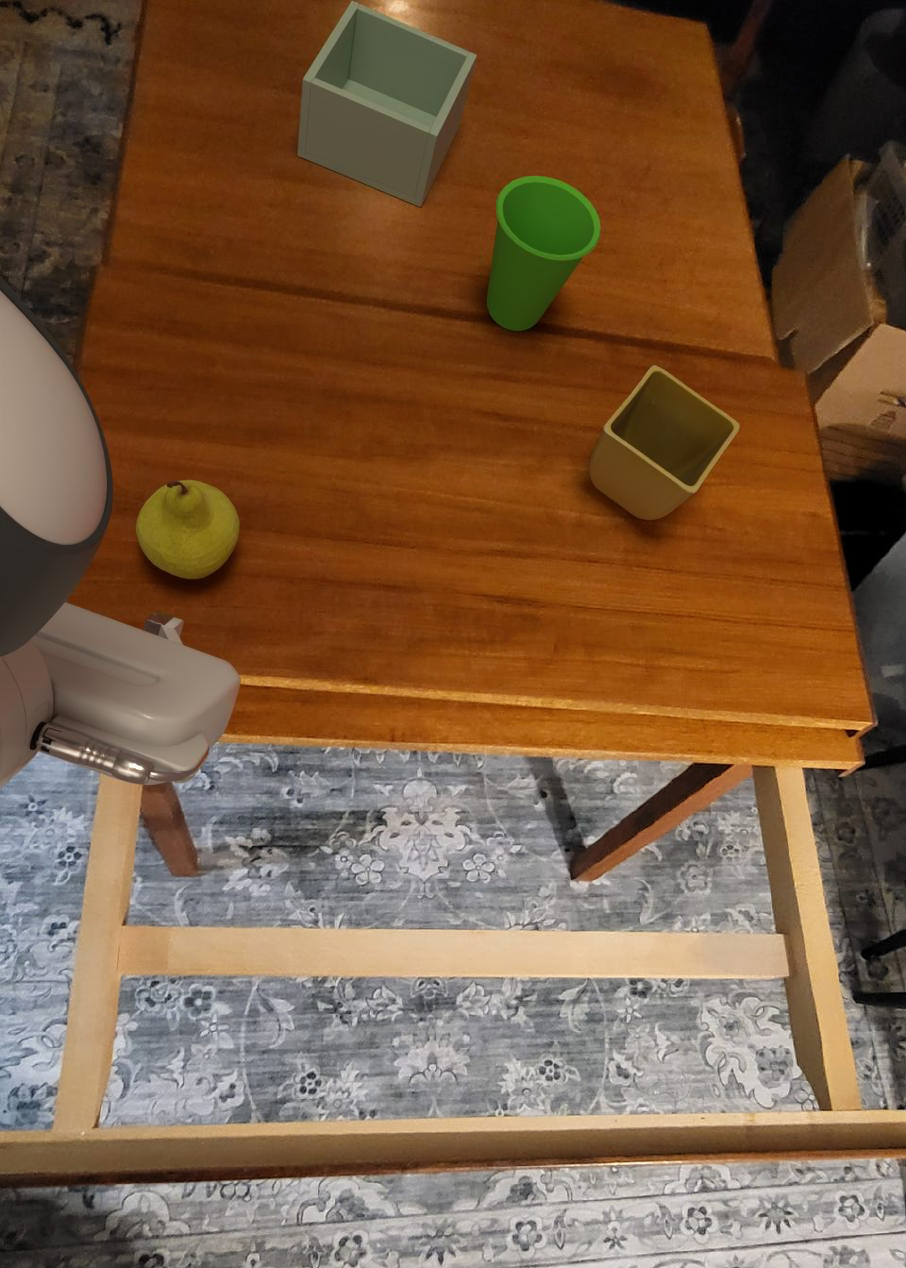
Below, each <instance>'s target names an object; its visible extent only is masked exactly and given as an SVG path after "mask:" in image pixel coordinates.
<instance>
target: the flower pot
mask: <svg viewBox="0 0 906 1268" xmlns="http://www.w3.org/2000/svg"><path fill="white" fill-rule="evenodd" d="M740 428H741V425H740V423H739V422H737V420H735V419H734V418H733V417H732V416H730V415H728V414H727V413H726V412H725V411H723V410H721V409H720V408H719V407H717V406H716V405H714V404H713V403H712V402H710V401H709V400H707V399H705V398H704V397H703V396H702V395H700V394H699V393H697V392H696V391H694V389H692V388H691V387H688V386H687V385H686V384H684V382H683V381H681V380H680V379H678V378H676V377H675V376H674V375H673V374H671V373H670V372H668V371H667V370H665V369H663V368H662V367H660V366H658V365H655V364H653V365H652V366H650V367H649V369H648V370H647V371H646V373H645V374H644V375H643V377H642V378H641V379H640V381H639V382H638V383H637V385H636V386H635V388H633V390H632V391H631V393H630V394H629V395H628V396H627V398H626V399H625V400H624V401H623V402H622V404H621V405H620V406H619V407H618V408H617V409H616V410H615V412H614V413H613V414H612V416H611V417H610V418H609V419H608V420H607V421H606V422H605V423H604V425H603V427H602V429H601V432H600V433H599V436H598V438H597V441H596V443H595V445H594V448H593V451H592V453H591V455H590V458H589V462H588V474H589V478H590V481H591V483H592V484H593V486H594V487H595V489H597V490H598V491H599V492H600V493H602V494H603V495H605V497H607V498H609V499H610V500H612V501H613V502H614V503H616V504H617V505H618V506H620V507H621V508H622V509H624V510H625V511H627V513H629V514H630V515H632V516H633V517H634V518H636V519H639V520H644V521H655V520H659V519H662V518H664V517H666V516H667V515H669V514H670V513H672V512H673V511H674V510H676V509H677V508H678V507H679V506H681V505H682V504H684V503H685V502H686V501H687V500H688V499H689V498H690V497H692V496H693V495H694V494H696V493H697V492H698V491H699V489H700V487H701V486H702V484H703V483H704V481H705V480H706V478H707V476H708V475H709V474H710V472H711V471H712V470H713V468H714V467H715V465H716V464H717V462H718V461H719V459H720V458H721V456H722V455H723V454H724V452H725V451H726V449H727V448H728V446H729V445H730V444H731V442H732V441H733V440H734V438H735V437H736V436H737V434H738V432H739V431H740Z"/></svg>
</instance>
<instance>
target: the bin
mask: <svg viewBox="0 0 906 1268" xmlns="http://www.w3.org/2000/svg"><path fill="white" fill-rule="evenodd" d="M477 57H478V55H477V54H476V53H474V52H471V51H469V50H466V49H465V48H462V47H460V46H458V45H455V44H454V43H451V42H449V41H446V40H444V39H442V38H439V37H437V36H435V35H432V34H430V33H427V32H426V31H423V30H421V29H418V28H416V27H414V26H412V25H409V24H407V23H404V22H402V21H400V20H398V19H396V18H394V17H390V16H388V15H387V14H384V13H382V12H379V11H377V10H376V9H372V8H370V7H368V6H366V5H363V4H361V3H358V2H356V1H355V0H351V2H350V3H349V5H348V6H347V7H346V9H345V11H344V12H343V14H342V16H341V17H340V19H339V21H338V22H337V23H336V25H335V27H334V28H333V30H332V32H331V33H330V35H329V37H328V38H327V40H326V41H325V42H324V44H323V46H322V47H321V49H320V51H319V53H318V54H317V55H316V57H315V59H314V60H313V62H312V63H311V65H310V66H309V68H308V70H307V72H305V75H304V76H303V78H302V82H301V83H302V85H301V99H300V114H299V126H298V140H297V141H298V142H297V152H296V153H297V157H300V158H302V159H304V160H306V161H309V162H311V163H313V164H316V165H319V166H321V167H323V168H325V169H328V170H330V171H333V172H335V173H337V174H339V175H340V174H341V175H342V176H345V177H347V178H350V179H352V180H354V181H357V182H359V183H361V184H363V185H367V186H369V187H371V188H373V189H375V190H379V191H380V192H383V193H386V194H388V195H390V196H391V197H392V196H393V197H394V198H397V199H400V200H402V201H404V202H407V203H409V204H411V205H414V206H415V207H418V208H422V207H423V204H424V202H425V200H426V198H427V196H428V193H429V192H430V189H431V187H432V185H433V183H434V181H435V179H436V177H437V175H438V173H439V170H440V168H441V166H442V164H443V162H444V160H445V158H446V156H447V153H448V152H449V150H450V147H451V145H452V143H453V142H454V139H455V138H456V135H457V133H458V131H459V129H460V124H461V121H462V118H463V113H464V109H465V105H466V101H467V97H468V93H469V89H470V85H471V81H472V78H473V73H474V69H475V66H476V61H477Z"/></svg>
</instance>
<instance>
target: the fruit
mask: <svg viewBox="0 0 906 1268" xmlns="http://www.w3.org/2000/svg"><path fill="white" fill-rule="evenodd" d="M240 522H241V521H240V518H239V514H238V511H237V509H236V507H235V506H234V504H233V502H232V501H231V500H230V499H229V497H228V496H227V495H226V494H225V493H224V492H223V491H221V490H220V489H219V488H217V487H215V486H213V485H210V484H208V483H205V482H203V481H200V480H195V479H181V480H174V481H171V482H168V483H167V484H165V485H162V486H161V487H159V489H157V490H156V491H154V493H153V494H152V495H151V496H150V497H149V498H148V499H147V500H146V501H145V503H144V504H143V505H142V507H141V509H140V510H139V513H138V516H137V518H136V524H135V535H136V538H137V540H138V544H139V546H140V549H141V550H142V552H143V554H144V556H146V558H147V559H148V560H149V561H150V563H151V564H152V565H154V566H155V567H157V568H159V569H160V570H162V571H164V572H166V573H168V574H170V575H173V576H175V577H178V578H181V579H187V580H199V579H203V578H206V577H208V576H210V575H212V574H213V573H214V572H216V571H218V570H219V569H220V568H221V567H223V565H224V564H225V563H226V562H227V561H228V559H229V558H230V556H231V555H232V553H233V551H234V550H235V548H236V546H237V543H238V539H239V536H240Z"/></svg>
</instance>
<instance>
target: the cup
mask: <svg viewBox="0 0 906 1268" xmlns="http://www.w3.org/2000/svg"><path fill="white" fill-rule="evenodd" d="M495 214H496V217H497V222H496V228H495V235H494V236H495V237H494V243H493V251H492V258H491V264H490V265H491V267H490V273H489V279H488V287H487V294H486V307H487V312H488V314H489V316H490V317H491V319H492V320H493V321H494V322H495V323H496V324H497V325H499V326H500V327H501V328H504V329H506V330H509V331H513V332H521V331H526V330H529V329H531V328H532V327H533V326H535V325H536V324H537V323H539V322H540V319H541V318H542V317H543V315H544V314H545V312H546V311H547V309H548V308H549V307H550V305H552V303H553V301H554V300H555V298H556V297H557V295H558V294H559V293H560V291H561V290H562V288H563V287H564V285H566V282H567V281H568V280H569V279H570V277H571V275H572V274H573V273H574V272H575V270H576V269H577V267H578V266H579V264H580V263H581V261H582V260H583V259H584V257H585V256H587V255H588V254H589V253H591V252H592V251H593V250H595V248H596V246H597V244H598V243H599V241H600V237H601V232H602V231H601V230H602V229H601V221H600V217H599V215H598V213H597V210H596V209H595V207H594V205H593V204H592V203H591V201H590V200H589V199H588V198H587V197H586V196H585V195H584V194H583V193H582V192H581V191H580V190H578V189H577V188H575V187H574V186H572V185H570V184H569V183H566V182H564V181H562V180H560V179H557V178H553V177H548V176H543V175H529V176H528V175H527V176H522V177H519V178H516V179H514V180H512V181H511V182H509V183H508V184H506V185H505V186H504V187H503V188H502V189H501V190H500V192H499V193H498V195H497V199H496V202H495Z"/></svg>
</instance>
